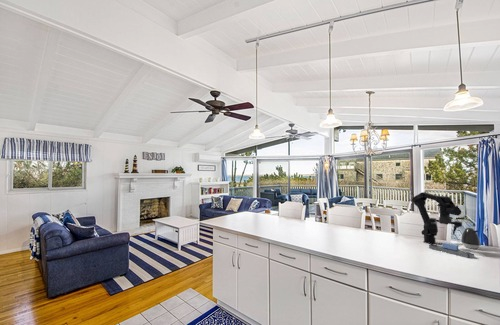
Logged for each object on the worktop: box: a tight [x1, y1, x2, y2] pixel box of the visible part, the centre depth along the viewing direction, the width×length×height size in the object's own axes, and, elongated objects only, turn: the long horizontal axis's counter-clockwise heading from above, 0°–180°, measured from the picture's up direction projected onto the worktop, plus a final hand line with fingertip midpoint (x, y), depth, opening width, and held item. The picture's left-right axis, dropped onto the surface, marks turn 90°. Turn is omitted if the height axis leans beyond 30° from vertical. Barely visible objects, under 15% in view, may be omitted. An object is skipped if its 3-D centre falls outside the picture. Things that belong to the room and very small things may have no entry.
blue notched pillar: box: [441, 242, 459, 251], centre depth 157 cm, size 8×3×6 cm, turn 31°
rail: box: [428, 243, 475, 260], centre depth 157 cm, size 24×6×2 cm, turn 30°
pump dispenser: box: [461, 227, 481, 250], centre depth 168 cm, size 10×10×15 cm
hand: (445, 233), depth 166 cm, fingers open, 9 cm apart
